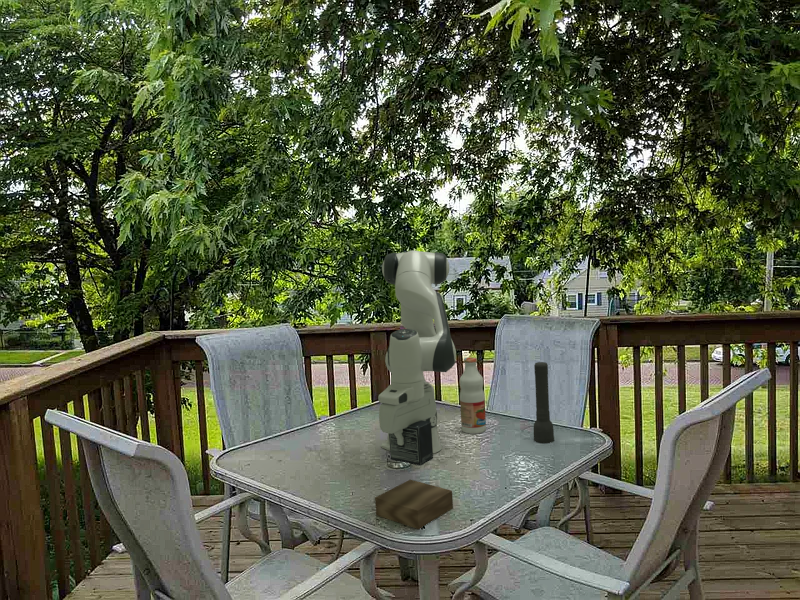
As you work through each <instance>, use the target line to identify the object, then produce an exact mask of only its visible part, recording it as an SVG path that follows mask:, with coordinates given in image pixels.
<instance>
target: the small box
mask: <svg viewBox="0 0 800 600" xmlns="http://www.w3.org/2000/svg"><path fill="white" fill-rule="evenodd" d="M401 434H402V436H403V437H404V438H406V444H404V445H398V443H397V438H396V436H395V435H394V433H392V434H389V441H390V451H389V454H390V460H391V461H396V462H401V463H406V464H410V465H415V466H419V467H420V466H423V465H424V464H426V463H428V462H429V461H432V460H434V453H433V447H432V430H431V422H429V421H422V420H421V421H418V422H415V423H413V424H411V425H409V426H408V427H407V428H404V429H403V433H401Z"/></svg>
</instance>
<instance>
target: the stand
mask: <svg viewBox="0 0 800 600" xmlns="http://www.w3.org/2000/svg"><path fill="white" fill-rule="evenodd" d="M374 503H375V516H377V517H380V518H383V519H387V520H390V521H392V522H395V523H398V524H401V525H405V526H408V527H410V528H413V529H417V530H420V528H421V529H422V528H424V527H425V526H427V525H428V523H429V524H430V523H432V522H433V521H435V520H436V519H438V518H439V517H441V516H443V515H444V514H446V513H448V512H449V511H451V510H453V509H454V502H453V490H451V489H448V488H444V487H440V486H438V485H437V486H436V485H431V484H429V483H425V482H421V481H418V480H414V479H408V480H406V481H403V483H400V484H398V485H397V486H395V487H392V488H391V489H389V490H387V491H385V492H383V493H381V494H379V495H377V496H375V497H374ZM431 521H432V522H431ZM426 524H427V525H426ZM423 526H424V527H423Z"/></svg>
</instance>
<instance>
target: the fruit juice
mask: <svg viewBox="0 0 800 600" xmlns="http://www.w3.org/2000/svg"><path fill="white" fill-rule="evenodd" d="M463 362H464V363H463V364H464V370H463V372H462V375H461V376H460V378H459V386H460V391H459V404H460V406H459V407H460V422H461V425H460V426H461V430H462V432H463V433H465V434H471V435H474V434H480V433H481V434H482V433H484V432H486V429H487V421H486V420H487V419H486V417H487V416H486V399H485V397H486V396H485V391H484V389H483V387H484V384H485V383H484V382H485V381H484V378H483V376H482V375H481V374H480V372H479V369H478V366H477V362H478V359H477V358H476V357H464V359H463Z"/></svg>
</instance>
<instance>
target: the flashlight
mask: <svg viewBox="0 0 800 600" xmlns="http://www.w3.org/2000/svg"><path fill="white" fill-rule="evenodd" d="M533 365H534V367H533V368H534V382H535V407H536V408H535V415H536V420H535V421H534V422H533V423H534V424H533V442H535V441H536V442H535V443H538V444H551V443H553V442H554V441H555V437H554V436H555V434H554V433H555V432H554V430H555V429H554V425H553V422H552V421H551V417H550V398H549V396H550V395H549V365H548V363H547V362H543V361H539V362H535V363H534V364H533ZM550 442H551V443H550Z"/></svg>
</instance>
